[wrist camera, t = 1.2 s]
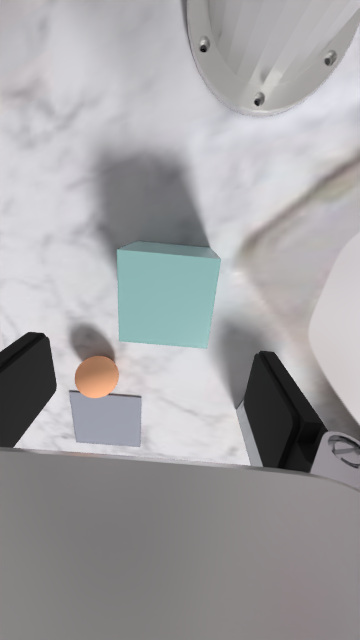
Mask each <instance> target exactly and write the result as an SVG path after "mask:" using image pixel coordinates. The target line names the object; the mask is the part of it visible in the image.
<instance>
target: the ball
mask: <svg viewBox="0 0 360 640" xmlns="http://www.w3.org/2000/svg"><path fill="white" fill-rule="evenodd" d="M118 378H119V373H118V368H117V366H116V364H115V363H114V362H113V361H112V360H111V359H109V358H107V357H105V356H93V357H90V358H88V359H86V360H84V361H83V362H82V363H81V364H80V365H79V367H78V368H77V370H76V373H75V384H76V387H77V389H78V390H79V391H80V393H82V394H83V395H85V396H87V397H89V398H100V397H104V396H106V395H107V394H109V393H110V392H111V391H112V390H113V389H114V388H115V386H116V385H117V382H118Z"/></svg>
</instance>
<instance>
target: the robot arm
mask: <svg viewBox="0 0 360 640" xmlns="http://www.w3.org/2000/svg"><path fill="white" fill-rule="evenodd" d="M359 24H360V0H187V25H188V35H189V40H190V45H191V50H192V54H193V57H194V60H195V63H196V65H197V68H198V71H199V73H200V75H201V76H202V78H203V80H204V82H205V83H206V85H207V87H208V88H209V90H210V91H211V92H212V93H213V94H214V95H215V96H216V98H217V99H218V100H219V101H221V102H222V103H223V104H225V105H226V106H227V107H229V108H230V109H232V110H234V111H236V112H239V113H241V114H243V115H248V116H255V117H264V116H273V115H276V114H279V113H283V112H286V111H288V110H290V109H291V108H293V107H295V106H297V105H299V104H300V103H302V102H303V101H304V100H305V99H307V98H308V97H309V96H310V95H312V94H313V93H314V92H315V91H316V90H317V89H318V88H319V87H320V86H321V85H322V84H323V83H324V82H325V81H326V80H327V79H328V78H329V76H330V75H331V74H332V73H333V71H334V70H335V69H336V68H337V66H338V65H339V63H340V62H341V60H342V58H343V57H344V55H345V53H346V51H347V50H348V48H349V46H350V44H351V43H352V40H353V38H354V35H355V33H356V31H357V28H358V26H359ZM203 48H204V49H205V50H206V52H204V53H203V52H201V51H200V50H201V49H203ZM325 62H326V64H327V65H326V64H325ZM254 101H258V103H259V106H256V105H255V104H254ZM56 387H57V384H56V378H55V372H54V366H53V360H52V354H51V348H50V341H49V338H48V337H46V336H45V334H44V333H36V332H28V333H26V334H25V335H23V336H22V337H21V338H19V339H18V340H16V341H15V342H14V343H12V344H11V345H9V346H8V347H7V348H5V349H4V350H2V351H1V352H0V640H360V441H358V440H357V439H355V438H353V437H352V436H349V435H347V434H345V433H341V432H337V431H329V432H328V430H327V429H326V427H325V426H324V424H323V422H322V421H321V419H320V418H319V416H318V415H317V413H316V412H315V410H314V409H313V408H312V406H311V405H310V403H309V402H308V400H307V399H306V397H305V396H304V394H303V393H302V392H301V390H300V389H299V387H298V386H297V384H296V383H295V381H294V380H293V379H292V377H291V376H290V374H289V373H288V371H287V370H286V368H285V367H284V365H283V364H282V363H281V361H280V360H279V358H278V357H277V355H276V354H275V353H274V352H269V351H260V352H259V354H256V355H255V357H254V361H253V365H252V369H251V373H250V377H249V381H248V385H247V389H246V393H245V397H244V409H245V412H246V415H247V418H248V421H249V425H250V428H251V431H252V434H253V437H254V440H255V443H256V446H257V449H258V453H259V456H260V459H261V462H262V465H263V467H258V466H248V465H237V464H226V463H213V462H201V461H188V460H175V459H163V458H149V457H136V456H122V455H108V454H94V453H80V452H66V451H51V450H36V449H21V448H13V447H14V446H15V445H16V443H17V442H18V441H19V439H20V438H21V437H22V435H23V434H24V433H25V431H26V430H27V429H28V427H29V426H30V425H31V423H32V422H33V421H34V420H35V418H36V417H37V416H38V414H39V413H40V412H41V410H42V409H43V408H44V406H45V405H46V404H47V402H48V401H49V400H50V398H51V397H52V396H53V394H54V393H55V391H56Z"/></svg>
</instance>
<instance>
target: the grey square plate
mask: <svg viewBox="0 0 360 640" xmlns="http://www.w3.org/2000/svg"><path fill="white" fill-rule="evenodd" d="M69 393H70V401H71V408H72V415H73V422H74V429H75V436H76V442H79V443H92V444H105V445H119V446H132V447H140V433H141V397H135V396H122V395H110V394H107V395H106V396H104V397H100V398H89V397H87V396H85V395H83V394H82V393H80V392H72V391H70V392H69Z"/></svg>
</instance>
